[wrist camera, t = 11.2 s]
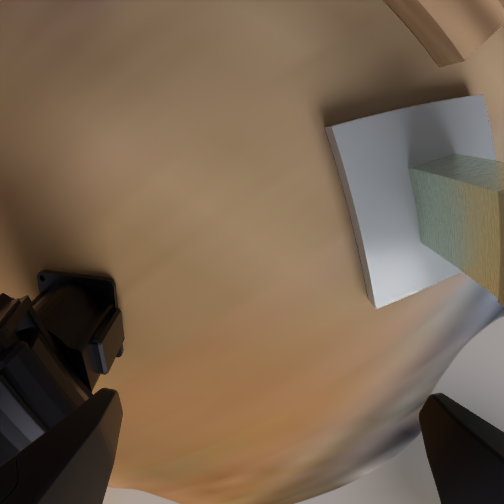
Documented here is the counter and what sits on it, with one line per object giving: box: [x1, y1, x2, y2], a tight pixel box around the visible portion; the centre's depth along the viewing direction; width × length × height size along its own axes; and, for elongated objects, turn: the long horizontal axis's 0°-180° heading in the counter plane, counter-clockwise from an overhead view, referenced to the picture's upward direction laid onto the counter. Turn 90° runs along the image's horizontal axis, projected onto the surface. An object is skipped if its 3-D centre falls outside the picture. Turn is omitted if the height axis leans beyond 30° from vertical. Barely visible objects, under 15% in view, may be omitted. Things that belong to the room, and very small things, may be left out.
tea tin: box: [408, 154, 504, 307], centre depth 13 cm, size 4×5×9 cm
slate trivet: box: [325, 94, 496, 309], centre depth 18 cm, size 12×12×2 cm
